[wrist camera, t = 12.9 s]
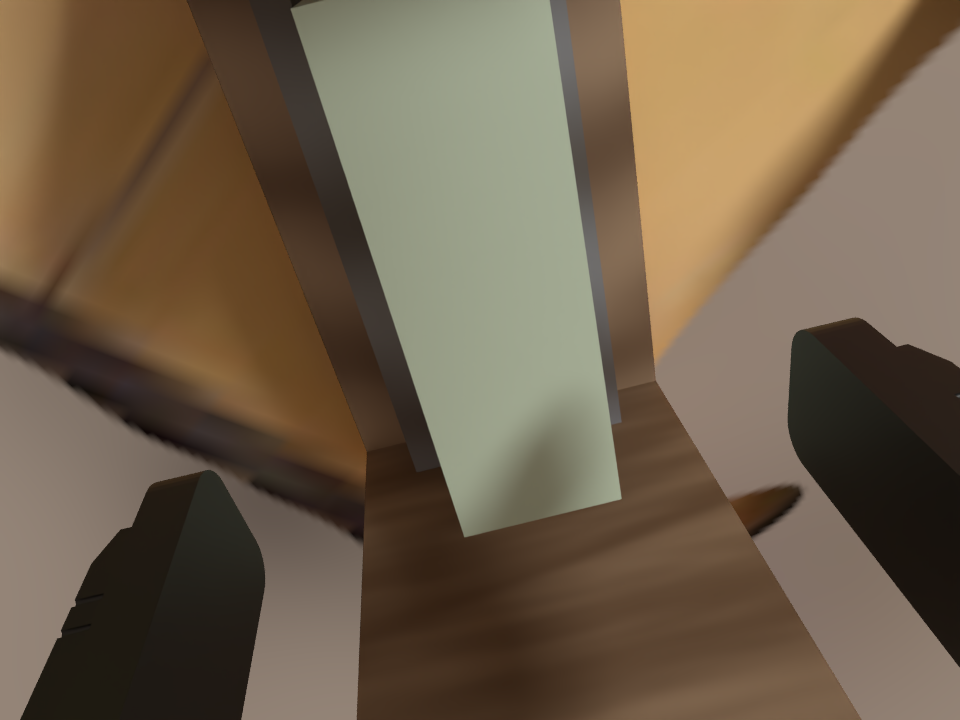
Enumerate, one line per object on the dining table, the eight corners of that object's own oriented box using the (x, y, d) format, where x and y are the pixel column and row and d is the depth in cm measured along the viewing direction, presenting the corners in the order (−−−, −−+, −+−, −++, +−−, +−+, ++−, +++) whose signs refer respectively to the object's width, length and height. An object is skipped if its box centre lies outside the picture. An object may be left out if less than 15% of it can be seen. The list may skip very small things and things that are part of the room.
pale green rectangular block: (332, -23, 19) (290, 8, 11) (472, -59, 19) (541, -57, 11) (438, 338, 26) (464, 537, 17) (543, 312, 25) (621, 499, 17)
